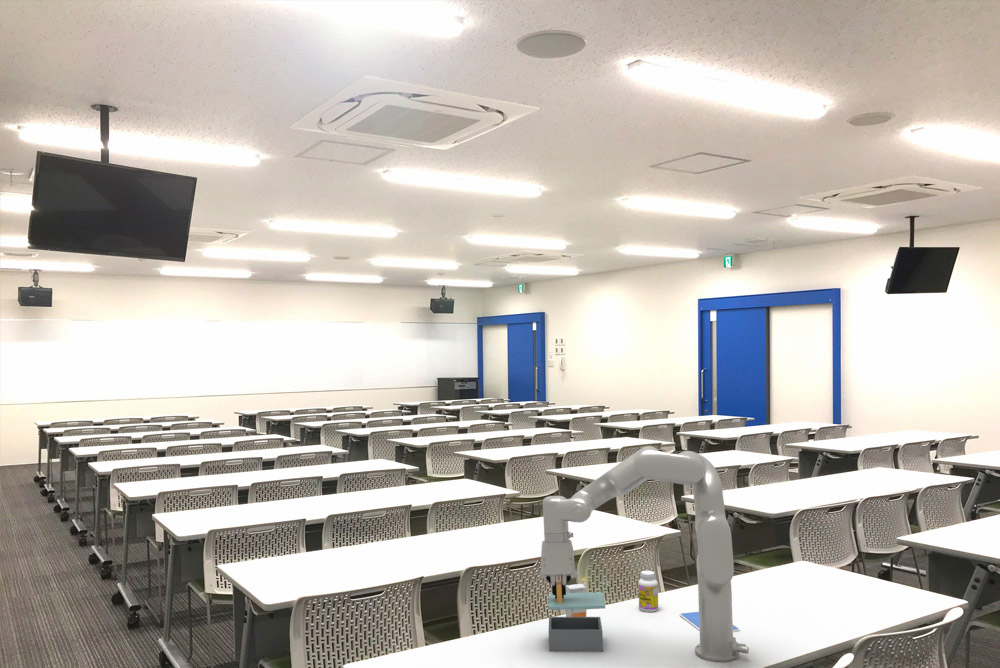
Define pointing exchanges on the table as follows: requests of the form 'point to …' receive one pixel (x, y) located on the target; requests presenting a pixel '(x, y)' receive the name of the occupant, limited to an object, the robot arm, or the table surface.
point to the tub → (575, 634)
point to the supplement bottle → (648, 592)
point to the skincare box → (575, 589)
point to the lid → (575, 600)
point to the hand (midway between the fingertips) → (559, 597)
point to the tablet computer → (694, 620)
